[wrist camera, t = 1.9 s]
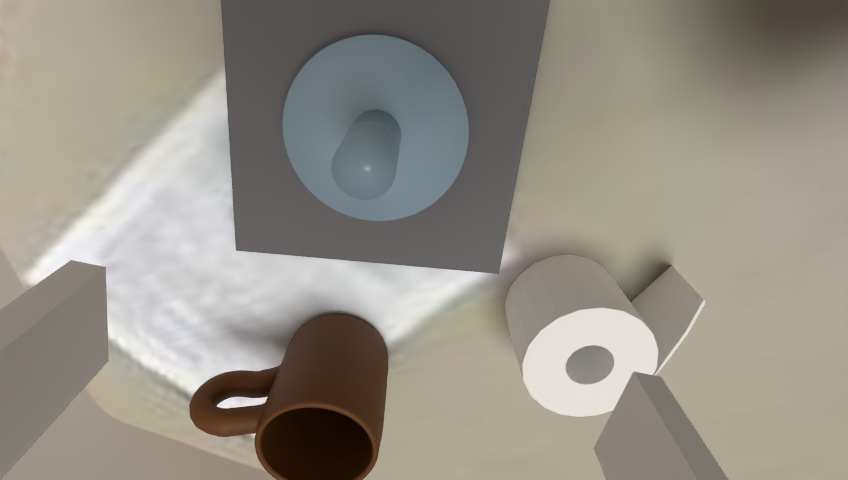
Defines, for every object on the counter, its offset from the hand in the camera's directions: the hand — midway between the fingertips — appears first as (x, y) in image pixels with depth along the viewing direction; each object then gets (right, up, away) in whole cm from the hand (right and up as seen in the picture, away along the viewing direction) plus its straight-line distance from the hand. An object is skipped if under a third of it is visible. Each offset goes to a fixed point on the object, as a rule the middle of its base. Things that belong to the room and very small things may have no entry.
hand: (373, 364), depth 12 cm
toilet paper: (+13, -1, +24) cm, 27 cm away
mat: (-2, +10, +18) cm, 21 cm away
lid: (-2, +10, +18) cm, 20 cm away
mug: (-7, -5, +25) cm, 27 cm away
